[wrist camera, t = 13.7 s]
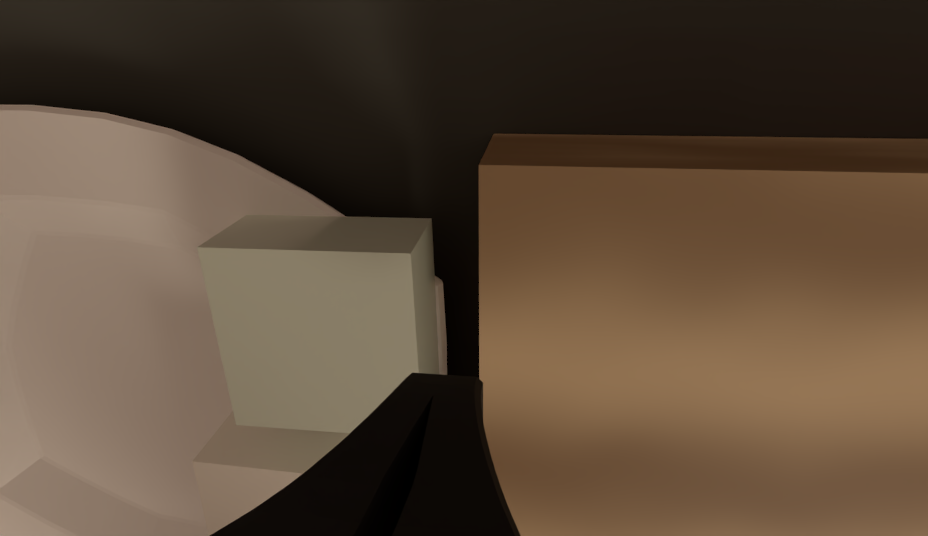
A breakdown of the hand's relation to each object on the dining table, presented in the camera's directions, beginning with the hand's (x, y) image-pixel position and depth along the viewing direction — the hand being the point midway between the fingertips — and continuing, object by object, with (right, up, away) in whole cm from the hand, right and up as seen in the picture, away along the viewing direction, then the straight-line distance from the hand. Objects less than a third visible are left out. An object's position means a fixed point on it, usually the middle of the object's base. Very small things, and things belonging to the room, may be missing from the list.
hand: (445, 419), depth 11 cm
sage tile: (-3, +2, +5) cm, 6 cm away
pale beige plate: (-10, -1, +10) cm, 14 cm away
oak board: (+8, -1, +7) cm, 11 cm away
